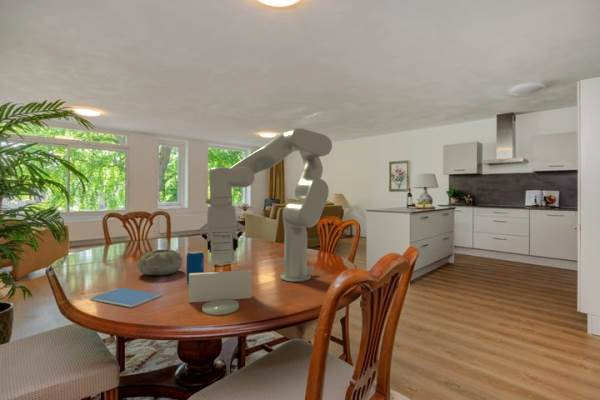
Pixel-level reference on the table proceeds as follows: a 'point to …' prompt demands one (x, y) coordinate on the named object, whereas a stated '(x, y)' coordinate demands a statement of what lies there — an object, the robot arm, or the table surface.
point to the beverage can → (195, 262)
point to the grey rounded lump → (160, 262)
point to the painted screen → (219, 285)
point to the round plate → (220, 307)
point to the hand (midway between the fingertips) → (223, 250)
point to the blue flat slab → (126, 297)
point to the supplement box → (222, 246)
